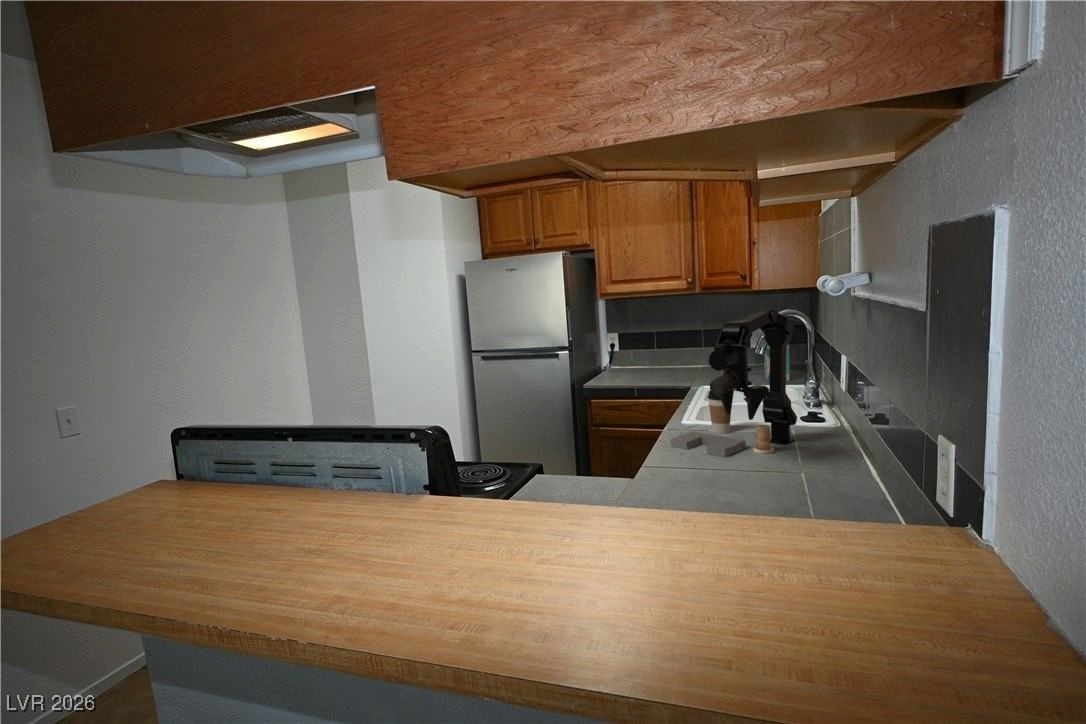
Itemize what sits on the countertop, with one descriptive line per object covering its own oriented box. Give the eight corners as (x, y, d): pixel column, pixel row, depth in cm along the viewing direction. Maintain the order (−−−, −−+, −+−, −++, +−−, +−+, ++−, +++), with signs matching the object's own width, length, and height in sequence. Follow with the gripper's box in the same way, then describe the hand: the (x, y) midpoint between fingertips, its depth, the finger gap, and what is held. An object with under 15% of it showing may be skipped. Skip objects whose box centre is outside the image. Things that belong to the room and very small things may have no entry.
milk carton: (764, 379, 290) (763, 332, 287) (780, 378, 291) (779, 330, 288) (773, 382, 281) (772, 333, 278) (790, 380, 282) (789, 331, 279)
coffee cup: (737, 430, 199) (736, 389, 197) (727, 435, 193) (725, 393, 191) (715, 427, 204) (714, 387, 202) (704, 432, 198) (703, 391, 196)
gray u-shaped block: (692, 438, 193) (692, 431, 192) (745, 448, 177) (745, 440, 177) (671, 446, 185) (670, 439, 185) (724, 457, 170) (724, 449, 169)
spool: (759, 447, 177) (758, 423, 176) (777, 450, 172) (777, 425, 171) (749, 452, 173) (748, 427, 172) (767, 455, 168) (767, 429, 167)
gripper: (694, 365, 167) (696, 415, 170) (738, 372, 150) (740, 428, 152) (723, 360, 172) (725, 409, 174) (769, 366, 155) (771, 421, 157)
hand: (739, 416), depth 164 cm, fingers open, 9 cm apart
